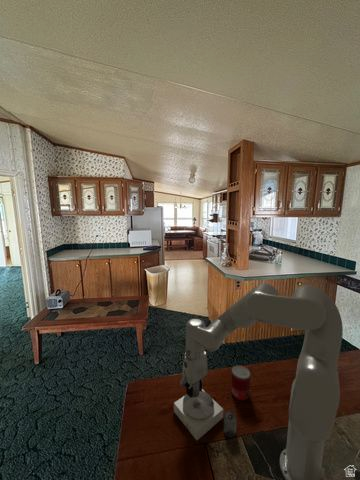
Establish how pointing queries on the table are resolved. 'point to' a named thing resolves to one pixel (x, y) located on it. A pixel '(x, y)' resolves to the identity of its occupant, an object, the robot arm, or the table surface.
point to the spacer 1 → (196, 388)
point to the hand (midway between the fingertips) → (194, 391)
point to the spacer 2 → (230, 424)
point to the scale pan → (198, 405)
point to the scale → (195, 425)
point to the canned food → (240, 382)
